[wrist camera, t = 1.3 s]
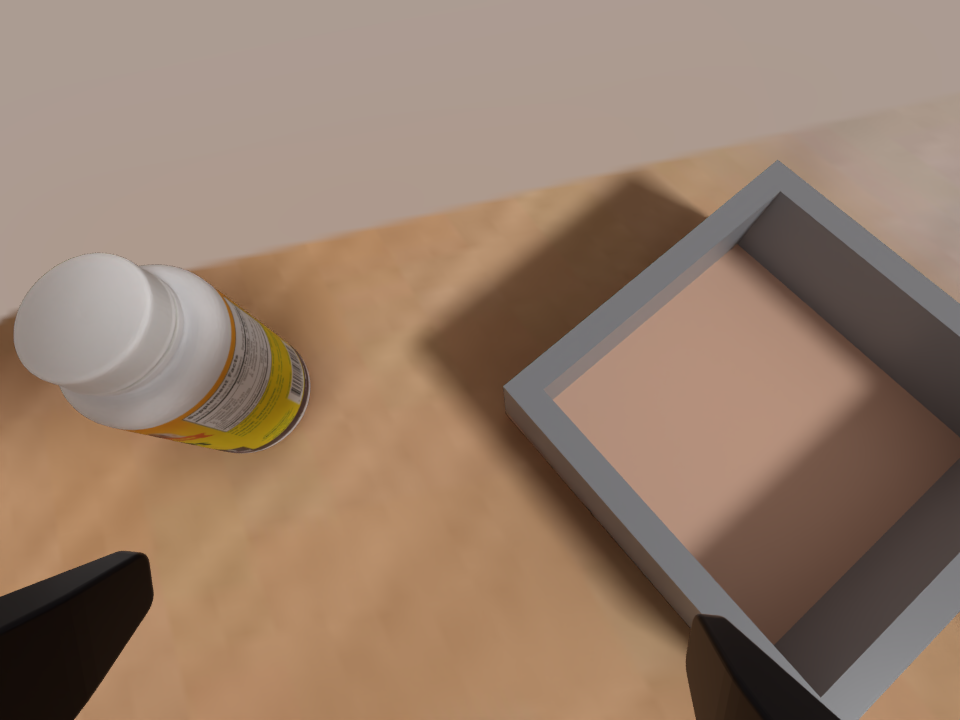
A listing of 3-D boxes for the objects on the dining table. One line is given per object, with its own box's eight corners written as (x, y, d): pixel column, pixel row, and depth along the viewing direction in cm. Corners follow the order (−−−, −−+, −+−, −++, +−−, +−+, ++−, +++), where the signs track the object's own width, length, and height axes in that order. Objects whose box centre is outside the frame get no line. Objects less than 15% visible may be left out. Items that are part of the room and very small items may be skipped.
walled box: (748, 695, 19) (825, 755, 14) (505, 413, 23) (502, 386, 18) (987, 453, 21) (1124, 434, 16) (727, 228, 25) (777, 159, 20)
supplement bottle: (174, 406, 24) (-58, 331, 14) (258, 318, 25) (95, 192, 15) (255, 482, 23) (60, 456, 13) (340, 386, 24) (218, 295, 14)
